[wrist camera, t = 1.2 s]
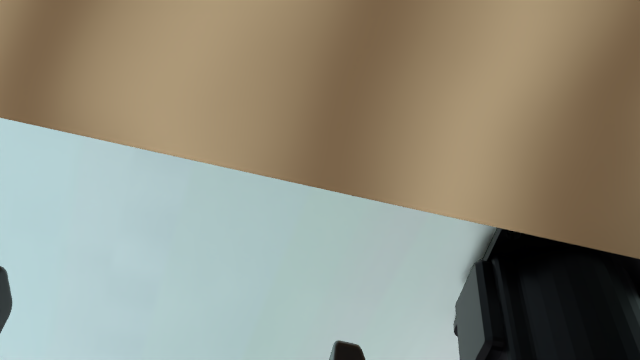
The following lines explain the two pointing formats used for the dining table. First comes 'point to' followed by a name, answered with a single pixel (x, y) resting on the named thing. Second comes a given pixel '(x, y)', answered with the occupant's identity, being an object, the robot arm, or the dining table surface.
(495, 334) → the robot arm
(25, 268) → the dining table surface
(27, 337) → the dining table surface
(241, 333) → the dining table surface
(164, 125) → the oak plank
